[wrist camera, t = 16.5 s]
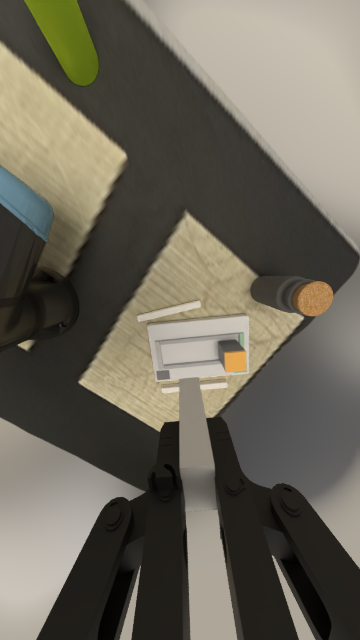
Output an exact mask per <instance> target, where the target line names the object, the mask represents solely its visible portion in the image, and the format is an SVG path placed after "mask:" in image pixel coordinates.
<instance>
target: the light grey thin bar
mask: <svg viewBox="0 0 360 640" xmlns="http://www.w3.org/2000/svg"><path fill="white" fill-rule="evenodd" d="M199 307H201V304H200V300H196V301H192V302H188V303H184V304H180V305H176V306H172V307H168V308H163V309H159V310H155V311H151V312H147V313H143V314H139V315H137V319H138V322H142V321H146V320H150V319H154V318H158V317H162V316H166V315H170V314H175V313H179V312H183V311H187V310H191V309H195V308H199Z"/></svg>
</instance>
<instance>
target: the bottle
mask: <svg viewBox="0 0 360 640" xmlns="http://www.w3.org/2000/svg"><path fill="white" fill-rule="evenodd" d="M251 295H252V297H253V298H254V300H256V301H257V302H260V303H262V304H265V305H268V306H270V307H273V308H276V309H279V310H281V311H284V312H288V313H297V314H305V315H307V316H317V315H320V314H322V313H323V312H324V311H326V310H327V309H328V308H329V306H330V305H331V303H332V300H333V292H332V289H331V287H330V286H329V285H328V284H326V283H324V282H317V281H315V280H311V279H305V278H303V277H298V276H261V277H259V278H257V279H256V280H255V281H254V282H253V284H252V286H251Z"/></svg>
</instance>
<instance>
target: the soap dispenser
mask: <svg viewBox="0 0 360 640" xmlns="http://www.w3.org/2000/svg"><path fill="white" fill-rule="evenodd" d="M24 1H25V3H26V4H27V6H28V8H29V10H30V11H31V13H32V15H33V17H34V18H35V20H36V22H37V24H38V25H39V27H40V29H41V31H42V32H43V34H44V36H45V38H46V40H47V41H48V43H49V45H50V47H51V48H52V50H53V52H54V54H55V55H56V57H57V59H58V61H59V62H60V64H61V66H62V68H63V69H64V71H65V73H66V75H67V76H68V78H69V79H70V80H71V81H72V82H73V83H75V84H77V85H79V86H87V85H89V84H91V83H92V82H93V81H94V80H95V78H96V76H97V74H98V69H99V62H98V57H97V53H96V51H95V48H94V45H93V43H92V40H91V37H90V35H89V32H88V29H87V27H86V24H85V21H84V19H83V16H82V13H81V11H80V8H79V5H78V3H77V0H24Z"/></svg>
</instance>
